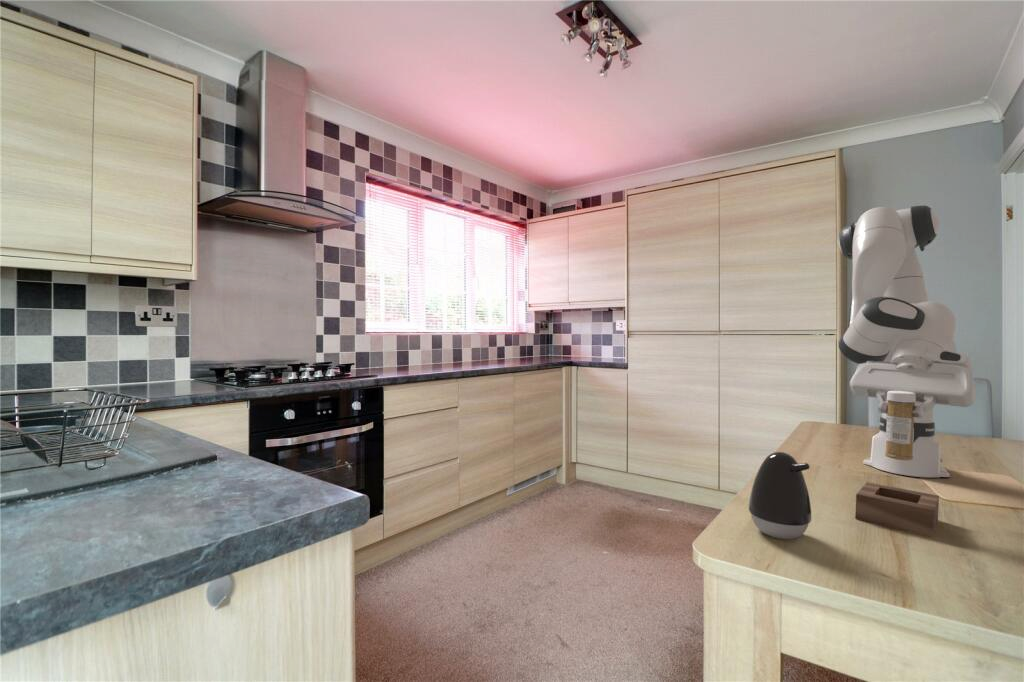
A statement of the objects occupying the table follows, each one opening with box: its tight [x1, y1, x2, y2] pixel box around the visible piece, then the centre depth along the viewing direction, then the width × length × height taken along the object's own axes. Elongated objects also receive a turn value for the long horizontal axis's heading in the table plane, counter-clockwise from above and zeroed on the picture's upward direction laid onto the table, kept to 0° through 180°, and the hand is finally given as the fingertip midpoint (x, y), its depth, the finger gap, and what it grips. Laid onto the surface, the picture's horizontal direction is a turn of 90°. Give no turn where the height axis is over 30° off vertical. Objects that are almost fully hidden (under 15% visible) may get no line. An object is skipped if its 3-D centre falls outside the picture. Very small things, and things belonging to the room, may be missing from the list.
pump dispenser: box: [748, 451, 812, 540], centre depth 91 cm, size 10×10×15 cm
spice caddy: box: [854, 481, 940, 538], centre depth 100 cm, size 12×12×5 cm
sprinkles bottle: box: [885, 391, 916, 460], centre depth 100 cm, size 5×5×13 cm
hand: (899, 413), depth 99 cm, fingers closed on sprinkles bottle, 4 cm apart
